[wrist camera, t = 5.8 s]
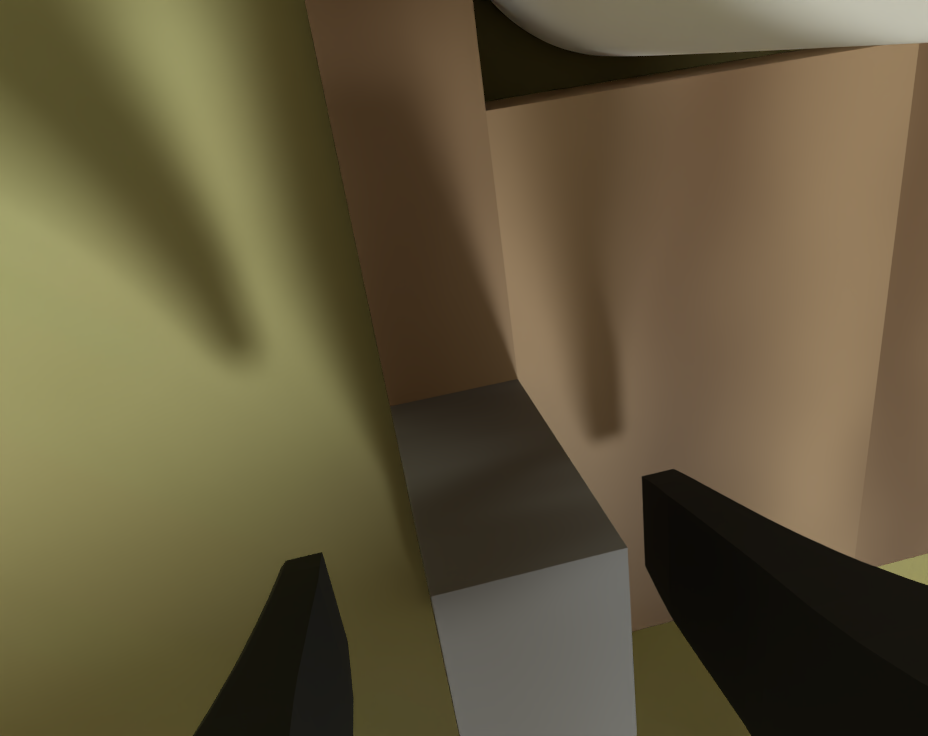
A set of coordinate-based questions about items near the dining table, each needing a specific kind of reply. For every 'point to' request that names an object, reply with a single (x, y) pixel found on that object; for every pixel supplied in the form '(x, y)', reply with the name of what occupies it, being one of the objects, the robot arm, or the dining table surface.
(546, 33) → the can
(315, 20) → the tan channel tray
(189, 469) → the dining table surface
